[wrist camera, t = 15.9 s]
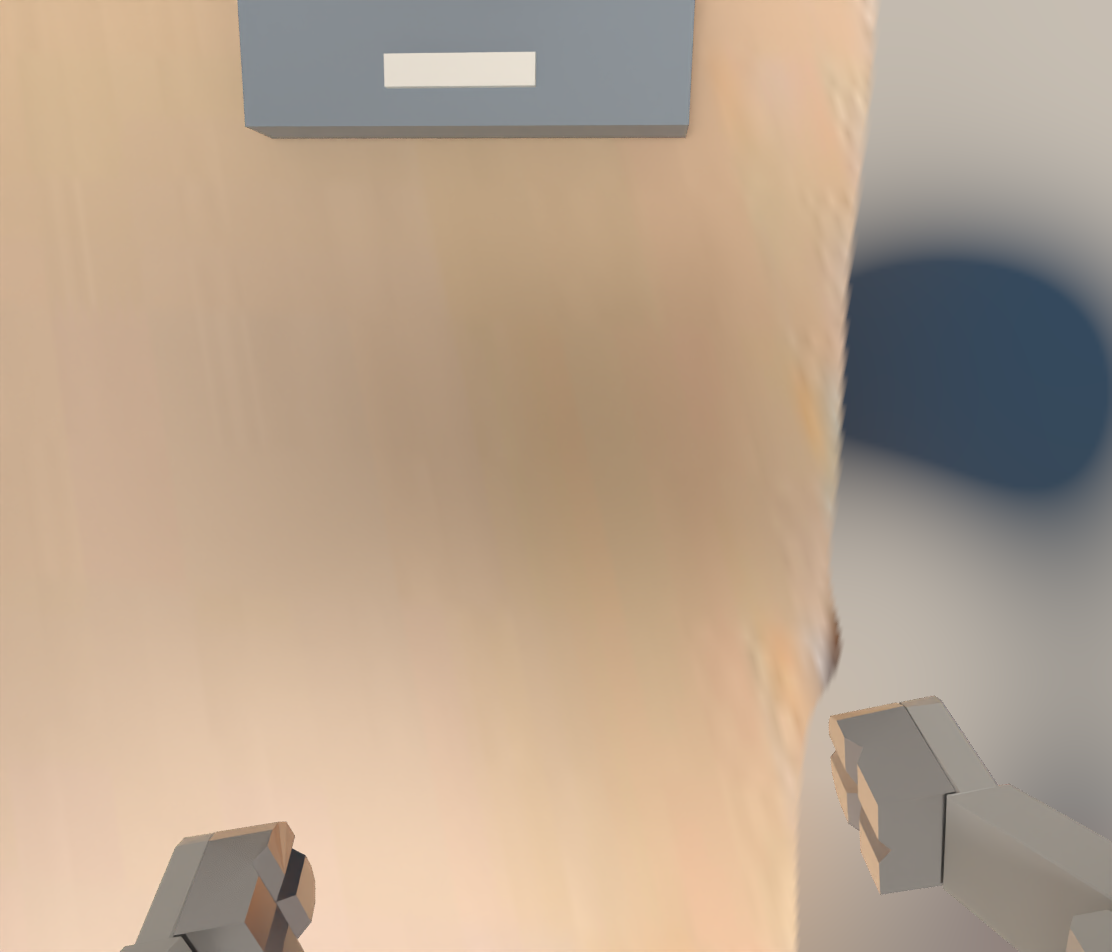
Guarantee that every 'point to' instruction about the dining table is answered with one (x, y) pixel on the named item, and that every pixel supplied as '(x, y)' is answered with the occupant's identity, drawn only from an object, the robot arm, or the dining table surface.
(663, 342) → the dining table surface
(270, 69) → the socket plate
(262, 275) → the dining table surface
